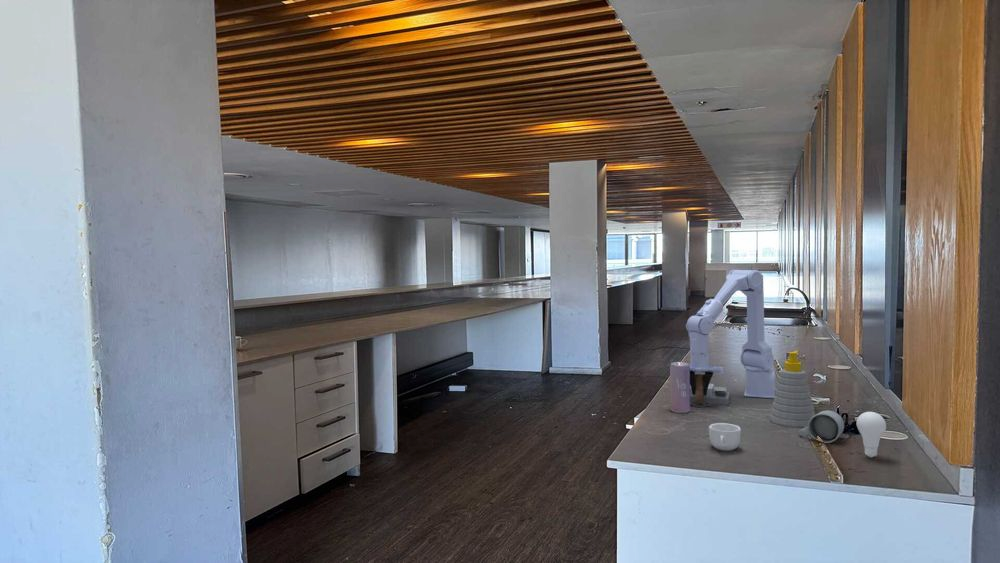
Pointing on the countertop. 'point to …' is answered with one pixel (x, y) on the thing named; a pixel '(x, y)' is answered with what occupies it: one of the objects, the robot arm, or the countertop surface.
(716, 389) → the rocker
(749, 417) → the countertop surface
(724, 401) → the grey fixture with socket
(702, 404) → the coaster
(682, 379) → the beverage can
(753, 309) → the robot arm
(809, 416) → the soap bottle
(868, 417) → the lightbulb
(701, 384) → the dowel
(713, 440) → the teacup
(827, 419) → the ceramic mug
